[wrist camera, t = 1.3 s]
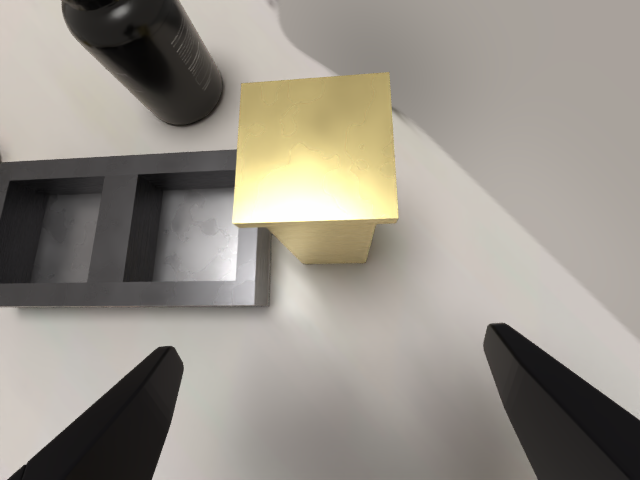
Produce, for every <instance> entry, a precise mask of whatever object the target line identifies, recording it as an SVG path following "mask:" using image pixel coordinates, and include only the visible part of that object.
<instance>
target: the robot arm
mask: <svg viewBox="0 0 640 480" xmlns="http://www.w3.org/2000/svg"><path fill="white" fill-rule="evenodd" d="M483 347H484V352H485V355H486V358H487V361H488V364H489V366H490V369H491V372H492V375H493V378H494V381H495V383H496V386H497V389H498V392H499V395H500V398H501V400H502V403H503V406H504V408H505V410H506V413H507V415H508V417H509V419H510V421H511V424H512V426H513V428H514V430H515V432H516V434H517V436H518V438H519V440H520V443H521V445H522V447H523V449H524V451H525V453H526V455H527V457H528V460H529V462H530V464H531V466H532V468H533V470H534V472H535V474H536V476H537V479H538V480H640V420H639V419H637V418H636V417H635V416H633V415H632V414H630V413H629V412H628V411H626V410H625V409H624V408H622V407H621V406H619V405H618V404H617V403H615V402H614V401H612V400H611V399H610V398H608V397H607V396H606V395H604V394H603V393H601V392H600V391H599V390H597V389H596V388H594V387H593V386H592V385H590V384H589V383H588V382H586V381H585V380H583V379H582V378H581V377H579V376H578V375H577V374H575V373H574V372H572V371H571V370H570V369H568V368H567V367H565V366H564V365H563V364H561V363H560V362H559V361H557V360H556V359H554V358H553V357H552V356H550V355H549V354H548V353H546V352H545V351H543V350H542V349H541V348H539V347H538V346H536V345H535V344H534V343H532V342H531V341H530V340H528V339H527V338H525V337H524V336H523V335H521V334H520V333H519V332H517V331H516V330H514V329H513V328H512V327H510V326H509V325H507V324H505V323H492V324H489V325H488V326H487V330H486V334H485V339H484V344H483ZM183 370H184V366H183V362H182V360H181V358H180V357H179V355H178V353H177V351H176V349H175V348H174V347H173V346H163V347H158V348H157V349H155V350H154V351H153V352H152V353H151V354H150V355H149V356H147V357H146V358H145V359H144V360H143V361H142V362H141V363H139V364H138V365H137V366H136V367H135V368H134V369H133V370H132V371H130V372H129V373H128V374H127V375H126V376H125V377H124V378H122V379H121V380H120V381H119V382H118V383H117V384H116V385H114V386H113V387H112V388H111V389H110V390H109V391H108V392H107V393H105V394H104V395H103V396H102V397H101V398H100V399H99V400H97V401H96V402H95V403H94V404H93V405H92V406H91V407H89V408H88V409H87V410H86V411H85V412H84V413H83V414H82V415H80V416H79V417H78V418H77V419H76V420H75V421H74V422H72V423H71V424H70V425H69V426H68V427H67V428H66V429H64V430H63V431H62V432H61V433H60V434H59V435H58V436H56V437H55V438H54V439H53V440H52V441H51V442H50V443H49V444H47V445H46V446H45V447H44V448H43V449H42V450H41V451H39V452H38V453H37V454H36V455H35V456H34V457H33V458H31V459H30V460H29V461H28V463H27V465H23V466H22V467H21V468H20V469H19V470H18V471H17V472H15V473H14V474H13V475H12V476H11V477H10V478H9V479H7V480H152V477H153V474H154V472H155V469H156V466H157V463H158V460H159V457H160V454H161V451H162V448H163V445H164V442H165V439H166V437H167V434H168V431H169V427H170V424H171V421H172V417H173V413H174V409H175V404H176V400H177V396H178V392H179V388H180V383H181V379H182V375H183Z"/></svg>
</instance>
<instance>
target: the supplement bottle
mask: <svg viewBox="0 0 640 480" xmlns="http://www.w3.org/2000/svg"><path fill="white" fill-rule="evenodd" d="M61 1H62V13H63V17H64V20H65V23H66V25H67V27H68V29H69V31H70V32H71V34H72V35H73V36H74V37H75V38H76V40H77V41H78V42H79V43H80V44H81V45H82V46H83V47H84V48H85V49H86V50H87V51H88V52H89V53H90V54H91V55H92V56H94V57H95V58H96V59H97V60H98V61H99V62H100V63H101V64H102V65H103V66H104V67H105V68H106V69H107V70H108V71H109V72H110V73H111V74H112V75H113V76H114V77H115V78H116V79H117V80H118V81H119V82H121V83H122V84H123V85H124V86H125V87H126V88H127V89H128V90H129V91H130V92H131V93H132V94H133V95H134V96H135V97H136V98H137V99H138V100H139V101H140V102H141V103H142V104H143V105H144V106H145V107H146V108H147V109H149V110H150V111H151V112H152V113H153V114H154V115H155V116H156V117H158V118H159V119H161V120H162V121H164V122H167V123H170V124H176V125H183V124H189V123H193V122H196V121H198V120H200V119H202V118H203V117H205V116H206V115H207V114H209V113H210V112H211V111H212V110H213V108H214V107H215V106H216V104H217V102H218V100H219V98H220V95H221V91H222V78H221V75H220V72H219V70H218V68H217V66H216V64H215V62H214V60H213V59H212V57H211V55H210V53H209V52H208V50H207V48H206V46H205V45H204V43H203V41H202V39H201V38H200V36H199V34H198V32H197V31H196V29H195V27H194V26H193V24H192V22H191V20H190V19H189V17H188V15H187V13H186V12H185V10H184V8H183V6H182V5H181V3H180V1H179V0H61Z"/></svg>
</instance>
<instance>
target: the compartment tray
mask: <svg viewBox="0 0 640 480" xmlns="http://www.w3.org/2000/svg"><path fill="white" fill-rule="evenodd" d="M236 160H237V150H219V151H201V152H182V153H164V154H146V155H128V156H110V157H92V158H73V159H55V160H37V161H19V162H1V163H0V307H215V306H269V290H270V261H271V232H270V231H269V230H268V229H267V228H266V227H256V228H238V227H237V226H235V225H234V224H233V207H234V191H235V176H236Z"/></svg>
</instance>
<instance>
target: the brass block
mask: <svg viewBox="0 0 640 480" xmlns="http://www.w3.org/2000/svg"><path fill="white" fill-rule="evenodd" d="M397 220H398V203H397V187H396V171H395V155H394V140H393V124H392V108H391V92H390V77H389V72H387V73H373V74H361V75H347V76H333V77H320V78H307V79H294V80H281V81H268V82H254V83H241V98H240V113H239V129H238V144H237V160H236V176H235V191H234V207H233V224H234V225H235V226H237V227H238V228H256V227H266V228H267V229H268V230H269V231H270V232H271V233H272V234H274V235H275V236H276V237H277V238H278V239H279V240H280V241H281V242H282V243H283V244H284V245H285V246H286V247H287V248H288V249H289V250H290V251H291V252H292V253H293V254H294V255H295V256H296V257H297V258H298V259H299V260H300V261H301V262H302V263H303V264H338V263H366V259H367V256H368V252H369V248H370V245H371V241H372V238H373V234H374V230H375V227H376V224H390V223H396V222H397Z"/></svg>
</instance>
